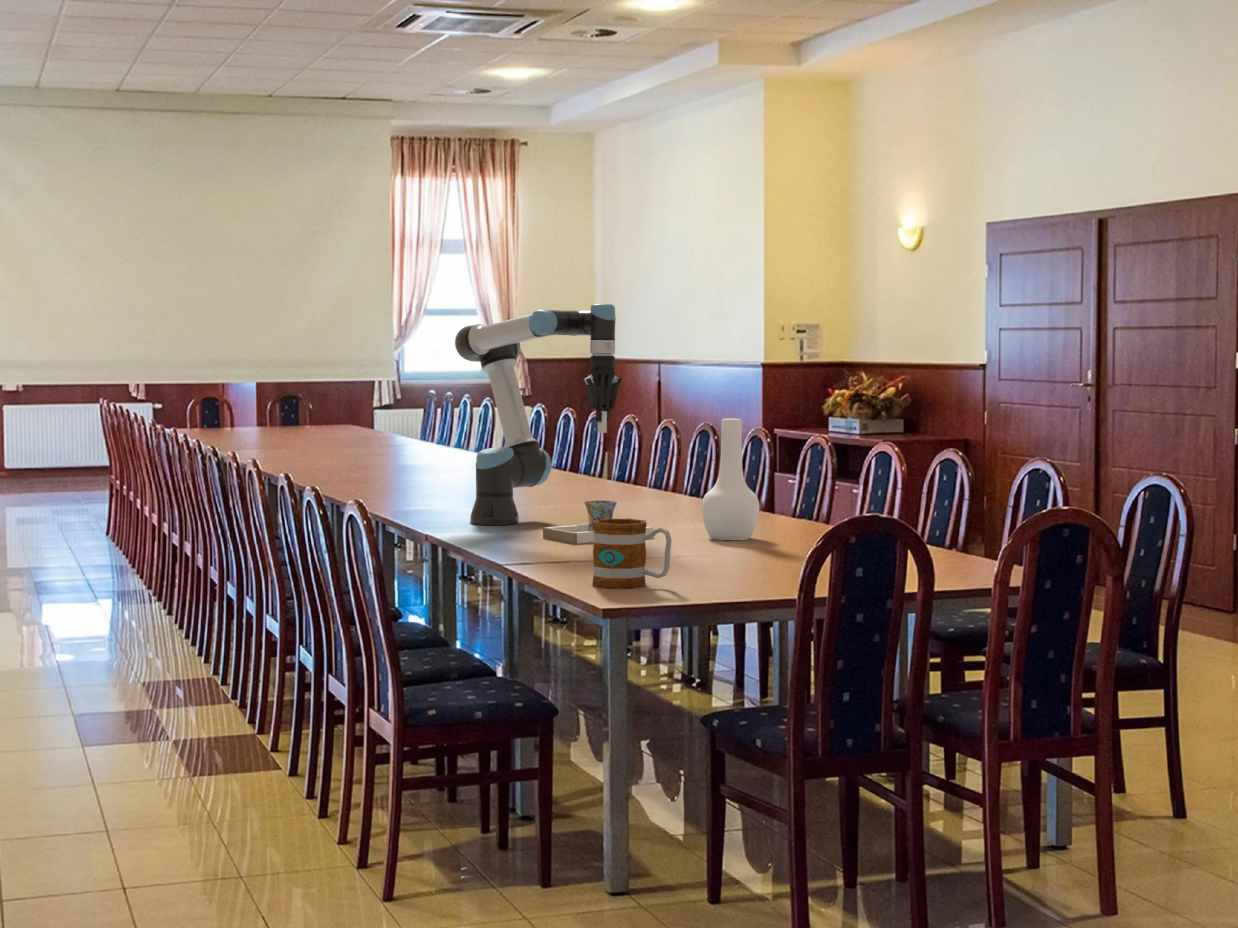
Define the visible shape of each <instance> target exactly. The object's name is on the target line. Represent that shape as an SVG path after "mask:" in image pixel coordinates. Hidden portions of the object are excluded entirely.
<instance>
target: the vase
mask: <svg viewBox="0 0 1238 928" xmlns="http://www.w3.org/2000/svg"><path fill="white" fill-rule="evenodd" d="M742 421H743V420H742V419H741V418H722V419H721V427H720V428H721V429H720V430H721V432H720V434H721V435H720V436H721V437H720V438H721V439H720V441H721V442H720V443H721V445H720V462H719V463H720V465H719V472H718V476H717V480H716V482H715V484H714V485H713V486H712V487H711V489H710V490H708V491H707V492H706V493H705V494H704V496H703V499H702V502H701V512H702V518H703V519H702V520H703V523H704V527H705V530H706V532H707V534H708V536H709V538H710V539H711V538H712V539H711V540H715V541H723V540H742V541H747V539H748V540H750V539H751V538H752V536H753V534H754V532H755V530H756V527H757V524H758V520H759V515H760V502H759V498H758V496H757V494H756V493H755V492H754V491H752V490H751V489H750V487H749V486H748V485H747V482H746V480H745V477H744V469H743V458H742V457H743V455H742V453H743V451H742V449H743V447H742V445H743V443H742V442H743V441H742V439H743V435H742V434H743V422H742ZM749 538H750V539H749Z"/></svg>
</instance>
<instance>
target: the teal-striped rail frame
mask: <svg viewBox="0 0 1238 928" xmlns="http://www.w3.org/2000/svg"><path fill="white" fill-rule="evenodd" d="M588 527H589V523H580V524H578V523H577V524H575V525H562V526H547V527H542V538H543V539H547V540H553V541H555V542H556V541H557V542H562V543H566V544H567V543H568V544H573V545H575V544H576V545H579V544H585V543H586V544H587V543H589V544H590V543H594V531H588ZM653 530H655V529H654V526H646V532H645V535H649V534H650V533H651V532H652V531H653Z"/></svg>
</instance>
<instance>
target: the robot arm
mask: <svg viewBox="0 0 1238 928" xmlns="http://www.w3.org/2000/svg"><path fill="white" fill-rule="evenodd" d="M616 318H617V317H616V307H615V305H614V304H609V303H594V304H591V306H590V310H565V309H564V310H561V309H560V310H556V309H554V310H553V309H546V308H545V309H538V310H534V311H533V313H532V314H531V313H530V314H527V315H523V316H520V317H519V316H518V317H515V318H511V319H507V320H502V321H499V322H494V323H490V324H486V325H483V324H477V323H476V324H473V325H467V326H464V327H462V328H461V329H460V330H459V331H458V332H457V333H456V336H455V339H454V345H455V350H456V352H457V353H458V355H460V357H462V358H463V359H464V360H466V361H469V362H476V363H477V362H479V363H480V366H481V370H482V371H483V372H484V373H486V374H487V375H488V378H489V382H490V386H491V390H492V393H493V397H494V403H495V405H496V408H497V409H496V411H497V413H498V418H499V421H500V425H501V428H502V433H503V436H504V437H503V438H504V440H505V446H502V447H501V446H499V447H489V448H485V449H482V450H479V451H478V452H477V454H476V462H475V464H474V465H475V500H474V504H473V507H472V510H471V512H470V516H469V517H470V524H472V525H480V526H481V525H482V526H483V525H484V526H506V525H507V526H509V525H516V524H519V522H520V521H519V520H520V519H519V518H520V517H519V513H518V510H517V507H516V503H515V500H514V488H516V489H517V488H527V487H528V488H532V487H535V486H540V485H543V484H544V483H545V482H546V481H547V480H548V478H549V475H550V474H551V470H552V459H551V457H550V454H549V453H548V452H546V450H544V449H542V448H541V447H540V444H539V441H538V440H537V439H535V438H533V436H532V432H531V428H530V425H529V420H528V417H527V413H526V409H525V404H524V401H523V397H522V393H521V389H520V385H519V381H518V378H517V374H516V371H515V367H516V365H517V363H518V359H517V358H519V356H520V350H521V343H522V342H526V341H531V340H535V339H540V338H545V337H550V336H571V337H572V336H574V337H577V336H590V341H589V342H590V345H589V346H590V347H589V350H590V351H589V353H590V354H591V355H590V359H589V360H590V361H589V365H590V372H589V375H588V376H587V377H584V378H583V379H582V380H583V384H584V385H585V388H586V393H587V398H588V403H589V407H590V409H591V410H593V411H594V412H595V422H596V423H597V433H598V434H607V428H608V426H607V425H608V422H609V419H610V418H609V412H610V411H612V410H614V409H615V407H616V401H617V397H618V391H619V387H620V385H621V382H622V377H618V376H617V375H616V372H615V366H616V357H615V355H614V354H616V320H617V319H616Z"/></svg>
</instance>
